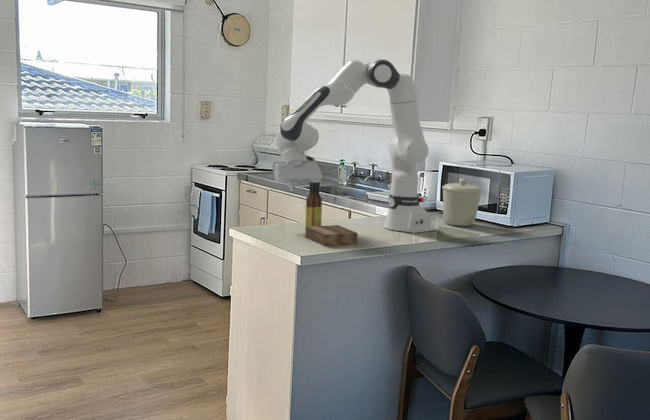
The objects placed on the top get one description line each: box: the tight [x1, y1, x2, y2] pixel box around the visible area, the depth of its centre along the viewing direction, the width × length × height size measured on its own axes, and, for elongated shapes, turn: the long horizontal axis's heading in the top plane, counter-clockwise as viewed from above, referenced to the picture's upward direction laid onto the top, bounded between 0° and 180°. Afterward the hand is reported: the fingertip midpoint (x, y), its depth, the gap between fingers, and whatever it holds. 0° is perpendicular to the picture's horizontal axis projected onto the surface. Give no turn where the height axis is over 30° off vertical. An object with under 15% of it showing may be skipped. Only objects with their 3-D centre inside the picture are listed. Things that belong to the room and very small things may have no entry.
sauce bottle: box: [304, 181, 323, 230], centre depth 248 cm, size 6×6×20 cm
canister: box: [441, 177, 484, 227], centre depth 287 cm, size 18×18×21 cm
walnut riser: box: [304, 224, 359, 247], centre depth 238 cm, size 14×14×4 cm
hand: (303, 190), depth 255 cm, fingers open, 8 cm apart
